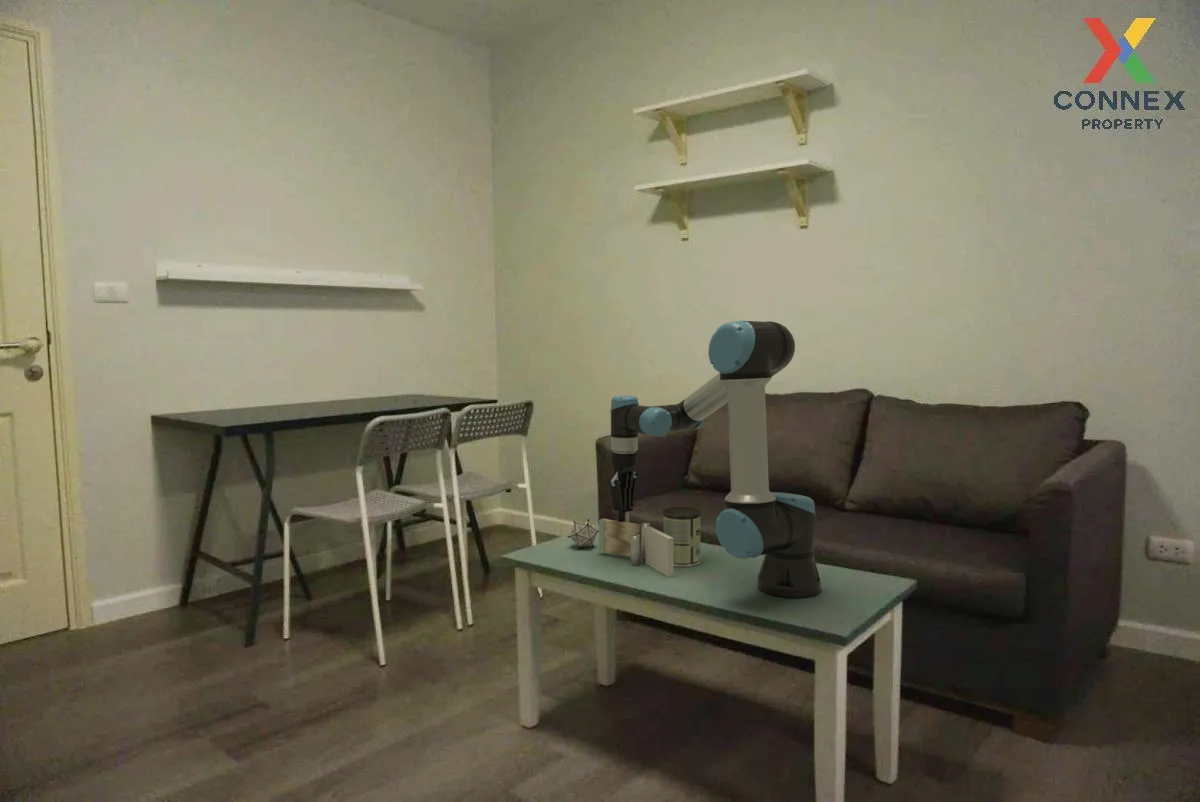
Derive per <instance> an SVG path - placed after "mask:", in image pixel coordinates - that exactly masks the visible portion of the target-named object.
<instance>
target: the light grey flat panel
mask: <svg viewBox="0 0 1200 802" xmlns="http://www.w3.org/2000/svg"><path fill="white" fill-rule="evenodd" d="M673 546H674V538H673V537H670V536H668V535H666V534H664V533H663V531H660V530H658V529H656V528H654V527H653V526H650V527H645V563H644V564H645V565H647V566H650V567H651V568H652V569H654V570H656V571H657V572H658V573H661V574H662V575H664V576H665V577H668V578H671V577H674V566H673Z"/></svg>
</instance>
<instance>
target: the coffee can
mask: <svg viewBox="0 0 1200 802" xmlns="http://www.w3.org/2000/svg"><path fill="white" fill-rule="evenodd" d="M701 515H702V511H701V510H700V509H698V508H695V507H689V506H688V507H687V506H674V507H667V508H665V509H662V523H663V524H662V525H663V527H662V528H663V529H662V533H664V534H666V535H668V536H670V537H673V538H674V546H673V567H677V568H688V567H689V568H690V567H695V566H699V565H700V564H701Z"/></svg>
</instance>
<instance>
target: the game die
mask: <svg viewBox="0 0 1200 802" xmlns="http://www.w3.org/2000/svg"><path fill="white" fill-rule="evenodd" d="M572 522H573V523H574V525H573V528H572V529H571V533H570V535H568V536H567V538H568V539H569V538H570V539H571V540H572V541H573V542H574V543H575V545H576V546H578V547H577V550H580V548H583V547H589V546H592V547H593V548H595V545H594V542H595V540H596V537H597V534H598V533H599V529H598V530H597V529H596V528H595V526H593V525H592V524H591V522H590V518H588V519H587V520H586V521H578V522H577V521H575V520H573V521H572Z"/></svg>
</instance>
